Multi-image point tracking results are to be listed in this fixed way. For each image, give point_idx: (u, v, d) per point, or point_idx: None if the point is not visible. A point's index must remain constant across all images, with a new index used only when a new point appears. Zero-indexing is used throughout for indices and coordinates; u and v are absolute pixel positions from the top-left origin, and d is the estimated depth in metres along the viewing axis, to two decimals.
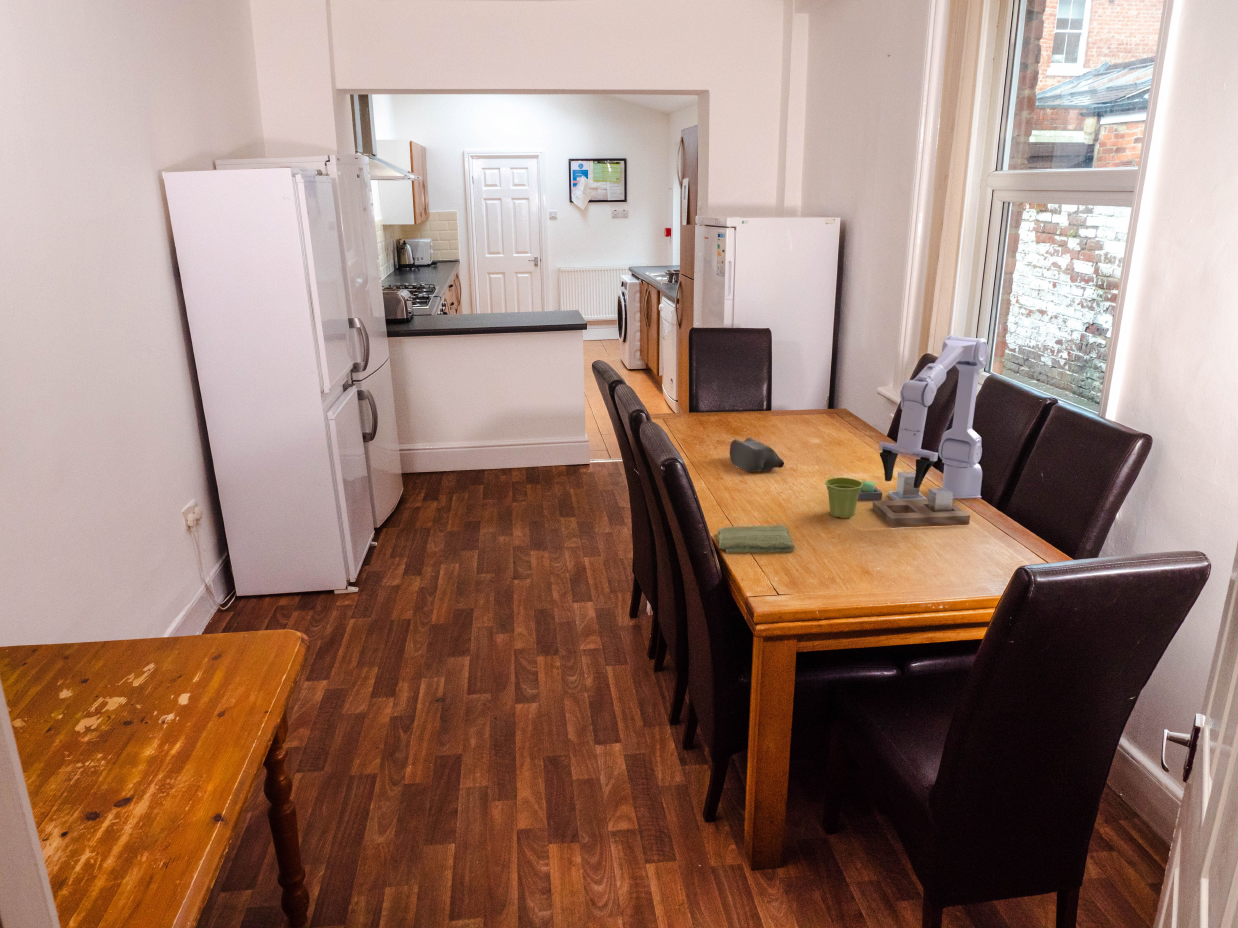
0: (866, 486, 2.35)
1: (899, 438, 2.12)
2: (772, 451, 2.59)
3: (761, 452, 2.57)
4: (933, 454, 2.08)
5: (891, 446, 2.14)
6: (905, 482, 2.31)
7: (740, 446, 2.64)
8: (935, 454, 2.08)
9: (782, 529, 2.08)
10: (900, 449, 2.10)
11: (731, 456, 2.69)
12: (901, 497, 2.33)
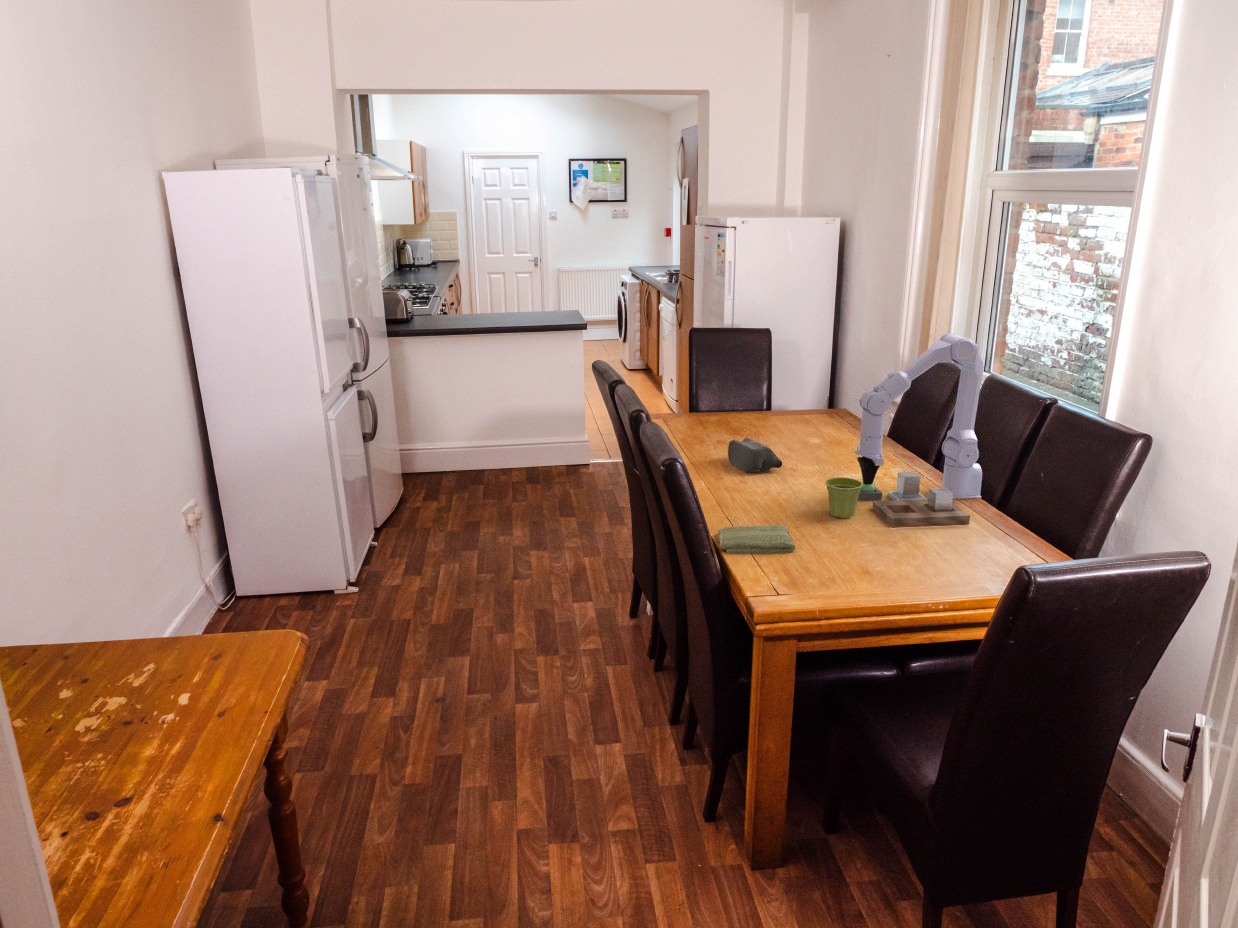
0: (866, 487, 2.35)
1: None
2: (770, 451, 2.58)
3: (760, 452, 2.57)
4: (876, 459, 2.27)
5: (858, 449, 2.37)
6: (905, 482, 2.31)
7: (739, 446, 2.64)
8: (878, 459, 2.27)
9: (782, 529, 2.08)
10: (855, 452, 2.33)
11: (729, 456, 2.69)
12: (901, 497, 2.33)
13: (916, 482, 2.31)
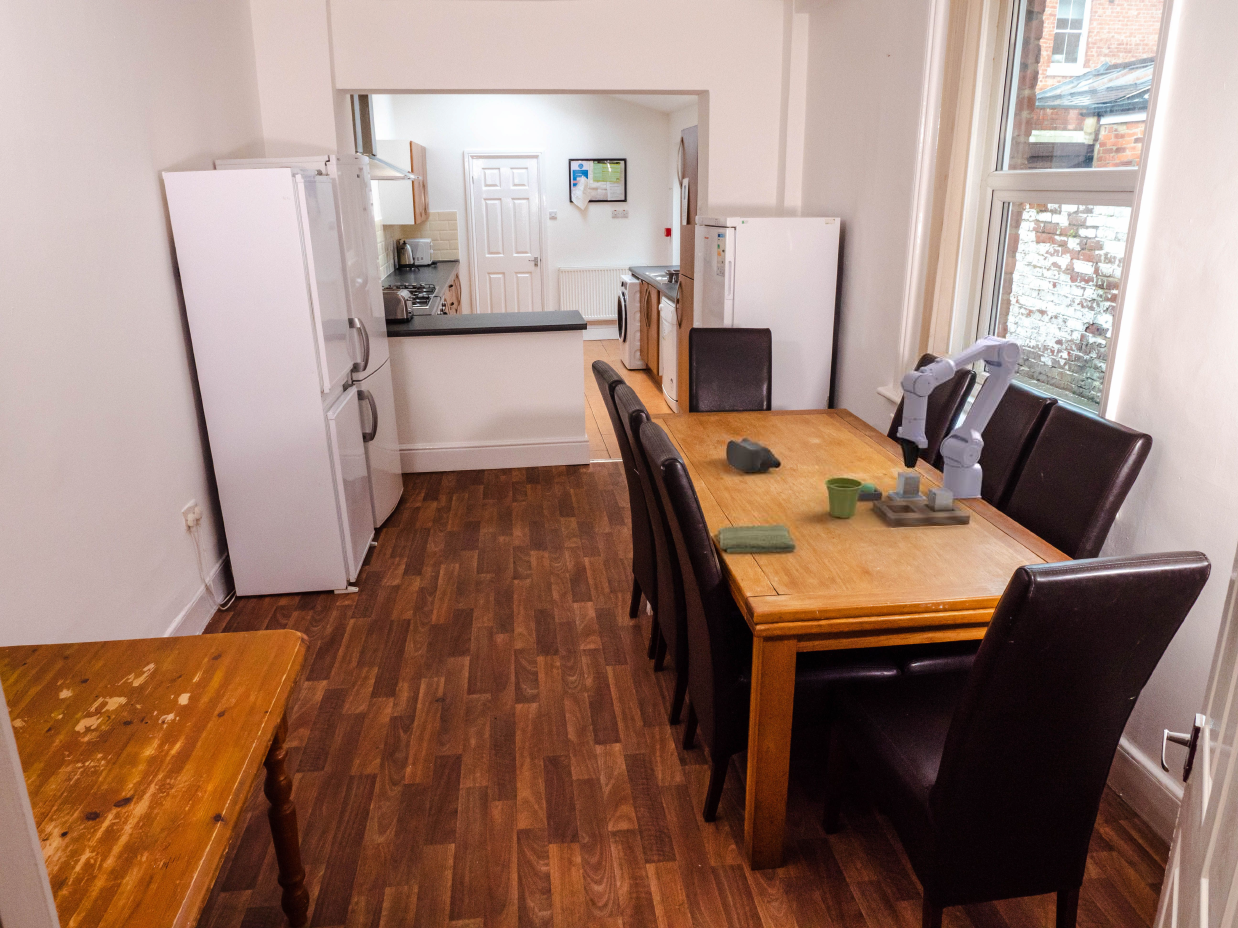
0: (866, 488, 2.35)
1: None
2: (769, 451, 2.58)
3: (758, 453, 2.56)
4: (919, 441, 2.23)
5: (900, 431, 2.33)
6: (905, 482, 2.31)
7: (737, 446, 2.63)
8: (922, 442, 2.23)
9: (782, 528, 2.08)
10: (897, 435, 2.30)
11: (728, 457, 2.68)
12: (901, 497, 2.33)
13: (916, 482, 2.31)
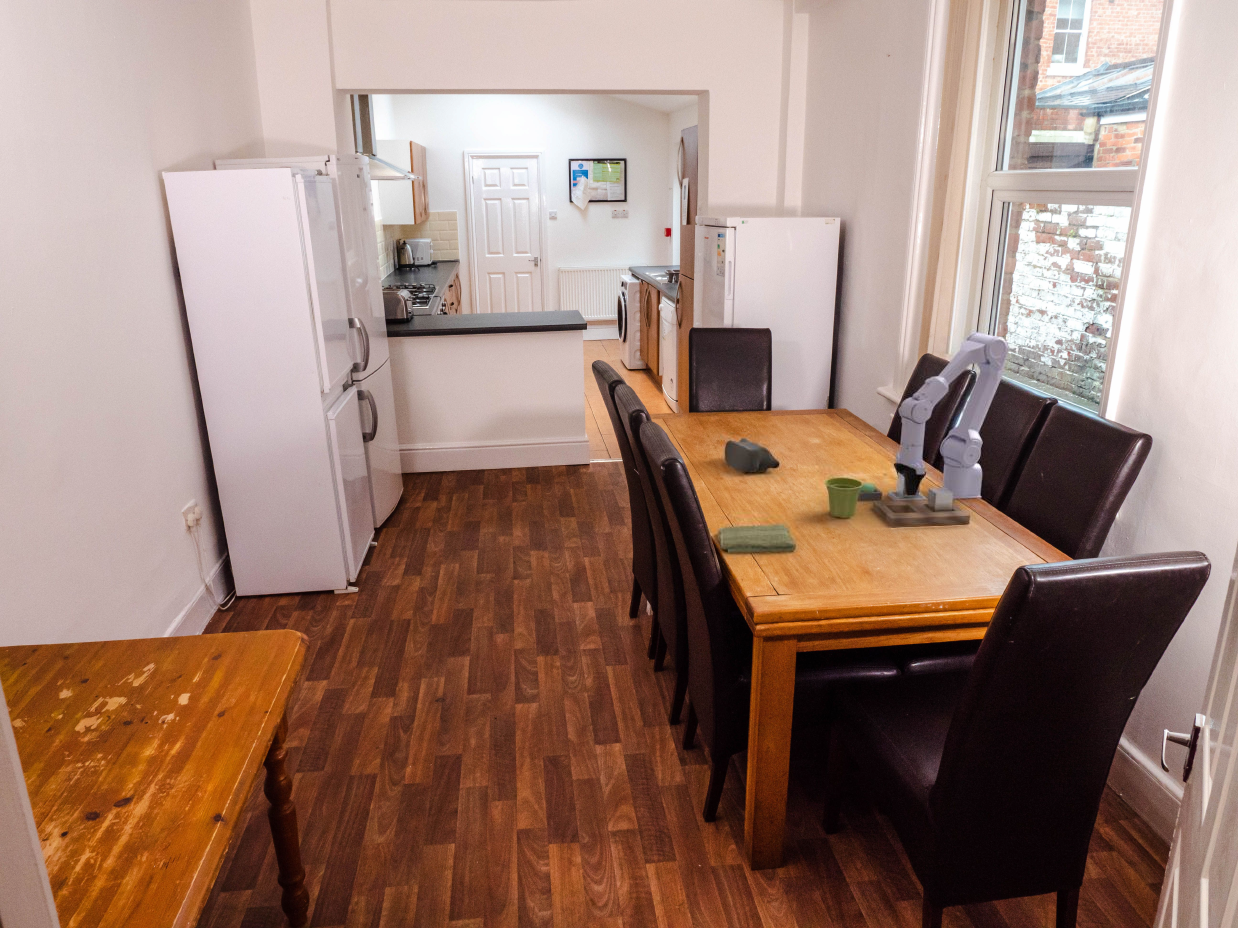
0: (866, 488, 2.35)
1: None
2: (767, 452, 2.58)
3: (757, 453, 2.56)
4: (917, 468, 2.25)
5: (898, 457, 2.35)
6: (905, 482, 2.31)
7: (735, 447, 2.63)
8: (919, 468, 2.25)
9: (782, 528, 2.09)
10: (895, 461, 2.32)
11: (726, 457, 2.68)
12: (901, 497, 2.33)
13: None
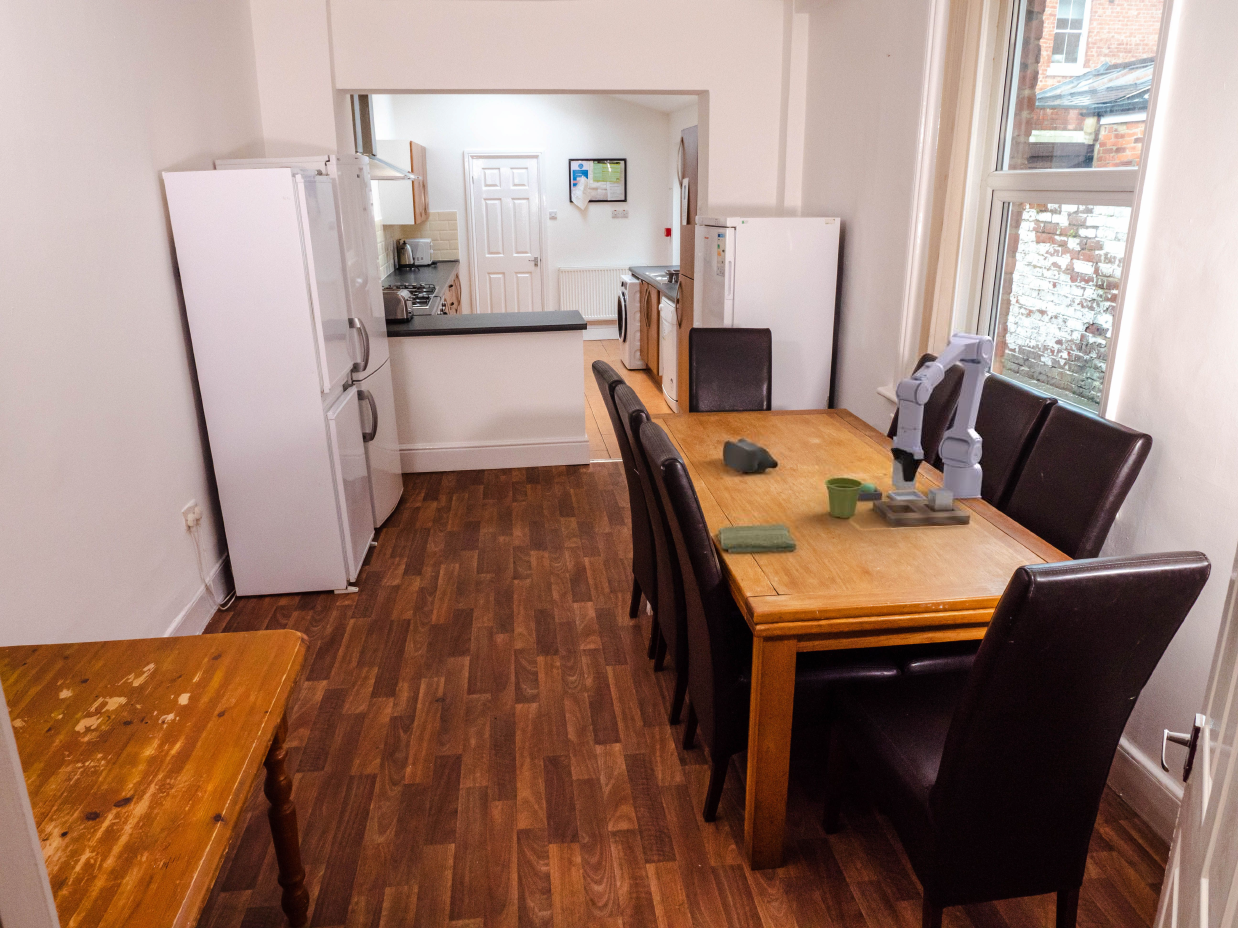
0: (866, 488, 2.35)
1: None
2: (766, 452, 2.58)
3: (755, 453, 2.56)
4: (915, 452, 2.13)
5: (895, 441, 2.23)
6: (901, 469, 2.19)
7: (734, 447, 2.63)
8: (917, 452, 2.13)
9: (782, 528, 2.09)
10: (892, 445, 2.20)
11: (724, 457, 2.68)
12: (897, 485, 2.21)
13: None
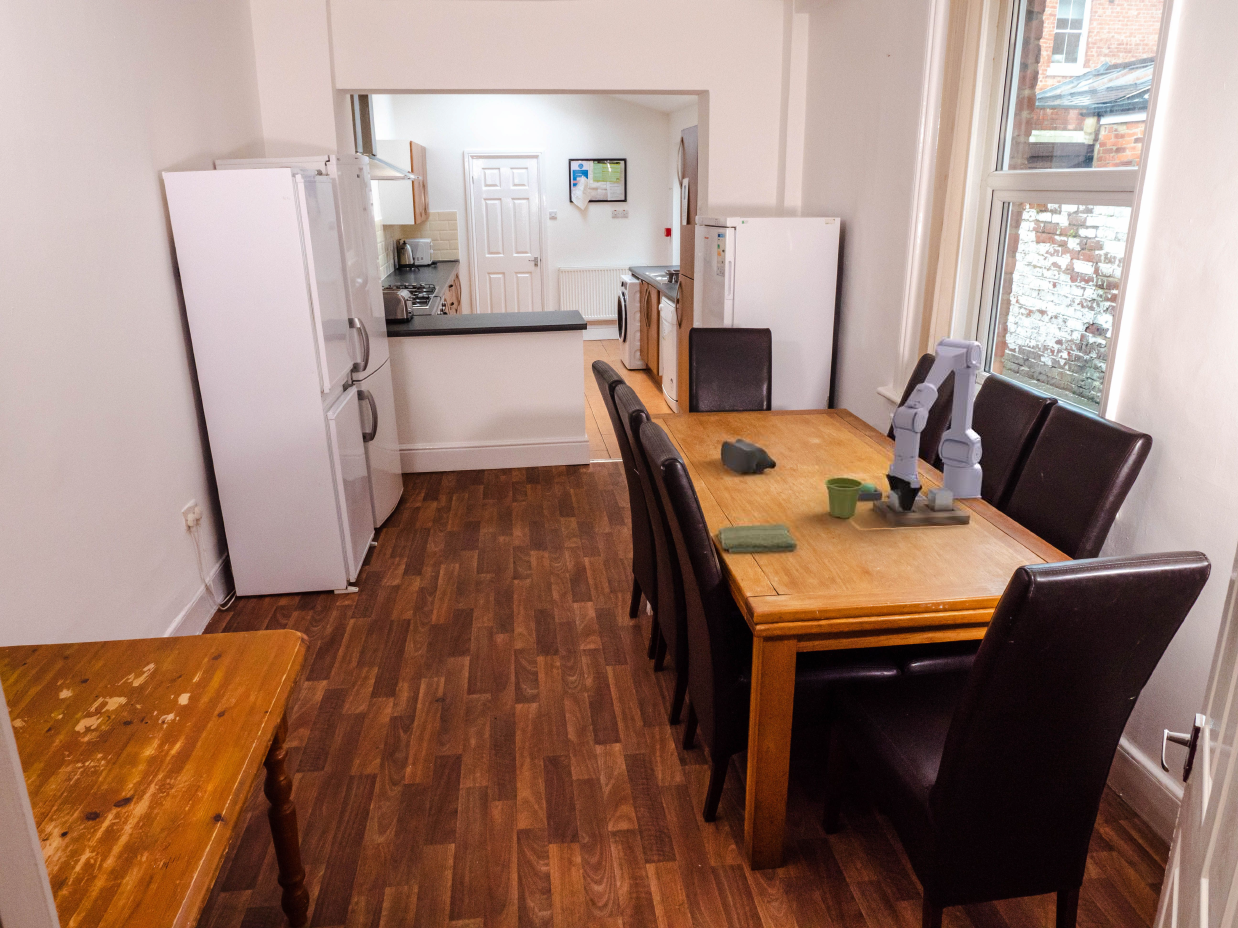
0: (866, 488, 2.35)
1: None
2: (764, 452, 2.58)
3: (754, 453, 2.56)
4: (912, 481, 2.12)
5: (891, 468, 2.22)
6: (897, 500, 2.18)
7: (732, 447, 2.63)
8: (914, 481, 2.12)
9: (782, 528, 2.09)
10: (889, 473, 2.18)
11: (722, 457, 2.68)
12: None
13: None
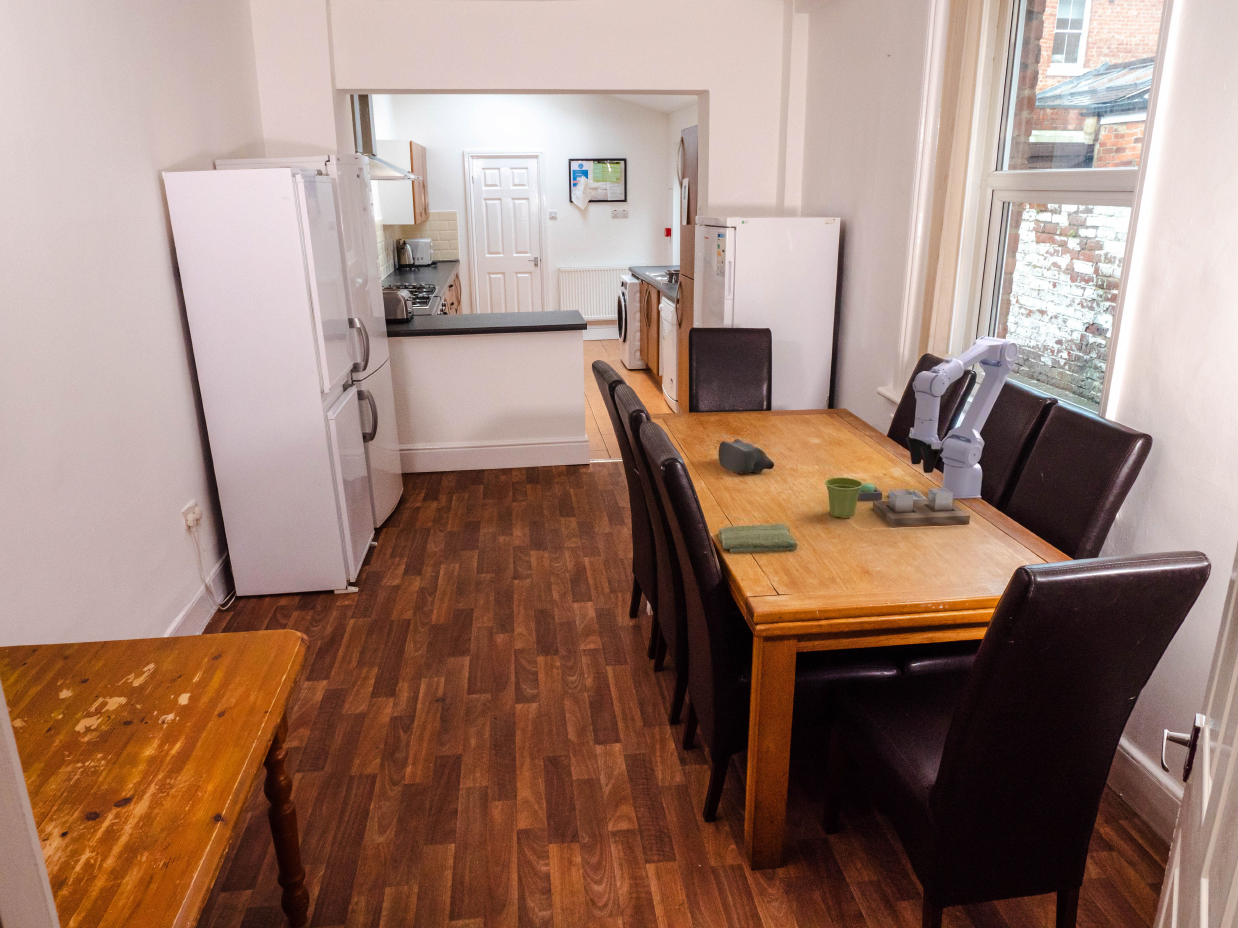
0: (866, 488, 2.35)
1: (914, 425, 2.27)
2: (762, 452, 2.57)
3: (752, 454, 2.55)
4: (932, 442, 2.20)
5: (912, 432, 2.30)
6: (897, 500, 2.18)
7: (730, 448, 2.62)
8: (935, 442, 2.20)
9: (783, 527, 2.09)
10: (910, 436, 2.27)
11: (720, 458, 2.67)
12: None
13: (909, 501, 2.19)
